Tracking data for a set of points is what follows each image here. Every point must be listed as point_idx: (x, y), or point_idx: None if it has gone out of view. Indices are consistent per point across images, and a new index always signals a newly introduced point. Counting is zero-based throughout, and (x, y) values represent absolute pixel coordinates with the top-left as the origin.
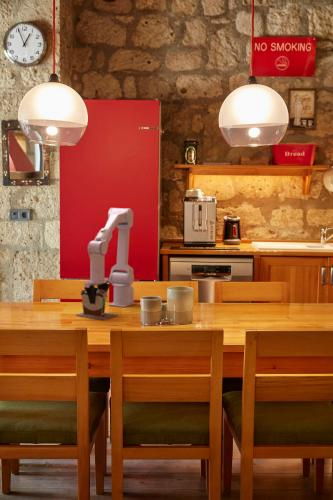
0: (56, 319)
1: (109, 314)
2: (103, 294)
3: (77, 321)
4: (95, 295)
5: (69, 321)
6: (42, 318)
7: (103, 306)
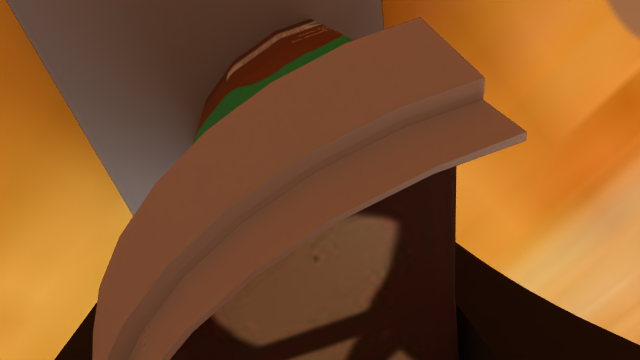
0: (580, 235)
1: (119, 83)
2: (490, 112)
3: (571, 81)
4: (468, 300)
5: (600, 128)
6: (591, 295)
7: (312, 50)
